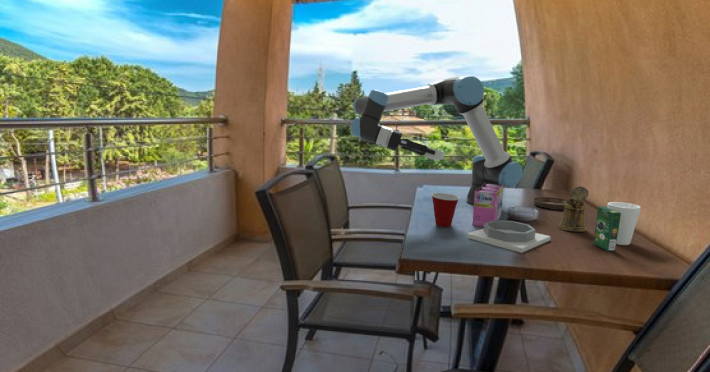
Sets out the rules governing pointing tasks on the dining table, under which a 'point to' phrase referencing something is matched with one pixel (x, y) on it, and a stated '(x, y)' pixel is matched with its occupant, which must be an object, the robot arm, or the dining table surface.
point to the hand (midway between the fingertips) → (441, 157)
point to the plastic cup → (444, 208)
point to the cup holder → (509, 235)
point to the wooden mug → (574, 211)
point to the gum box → (487, 204)
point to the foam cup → (625, 220)
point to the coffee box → (607, 228)
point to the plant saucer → (540, 203)
